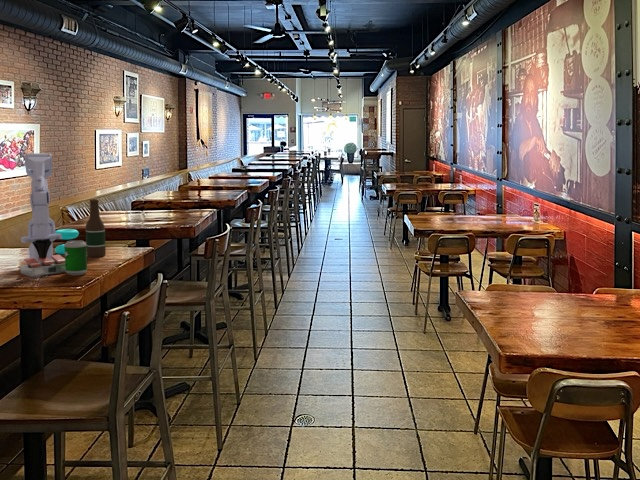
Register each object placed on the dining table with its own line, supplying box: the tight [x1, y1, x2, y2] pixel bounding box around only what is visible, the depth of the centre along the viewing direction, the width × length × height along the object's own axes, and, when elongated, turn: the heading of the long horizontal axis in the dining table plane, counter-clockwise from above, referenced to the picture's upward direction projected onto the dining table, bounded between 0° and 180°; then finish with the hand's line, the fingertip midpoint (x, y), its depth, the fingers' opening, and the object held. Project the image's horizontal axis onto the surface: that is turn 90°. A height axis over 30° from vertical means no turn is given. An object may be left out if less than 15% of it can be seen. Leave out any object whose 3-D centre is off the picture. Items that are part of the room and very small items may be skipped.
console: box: [19, 260, 66, 278], centre depth 242 cm, size 9×15×4 cm, turn 139°
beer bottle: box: [85, 198, 107, 258], centre depth 277 cm, size 8×8×24 cm
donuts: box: [54, 228, 80, 255], centre depth 284 cm, size 10×10×10 cm
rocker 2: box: [38, 257, 55, 265], centre depth 242 cm, size 6×3×1 cm, turn 49°
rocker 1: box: [23, 257, 41, 267], centre depth 238 cm, size 6×3×1 cm, turn 50°
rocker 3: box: [51, 254, 65, 263], centre depth 246 cm, size 6×3×1 cm, turn 50°
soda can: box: [64, 239, 88, 276], centre depth 240 cm, size 8×8×12 cm
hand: (42, 260), depth 244 cm, fingers closed, pressing on rocker 2
